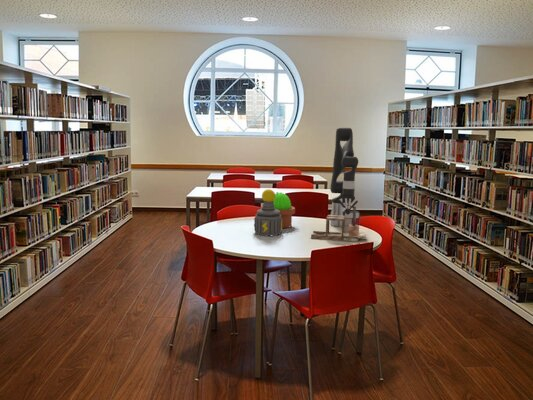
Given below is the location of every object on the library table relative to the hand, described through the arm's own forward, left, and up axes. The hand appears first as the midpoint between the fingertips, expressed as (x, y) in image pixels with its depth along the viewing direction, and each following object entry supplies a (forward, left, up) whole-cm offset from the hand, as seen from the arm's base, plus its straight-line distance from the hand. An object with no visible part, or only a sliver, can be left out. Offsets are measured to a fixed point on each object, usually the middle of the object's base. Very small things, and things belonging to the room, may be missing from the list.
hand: (347, 214), depth 310 cm
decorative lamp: (-38, -36, -16) cm, 55 cm away
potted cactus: (-55, -15, -16) cm, 60 cm away
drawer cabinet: (-5, -5, -16) cm, 18 cm away
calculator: (-11, +14, -16) cm, 24 cm away
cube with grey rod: (+3, +3, -14) cm, 15 cm away
